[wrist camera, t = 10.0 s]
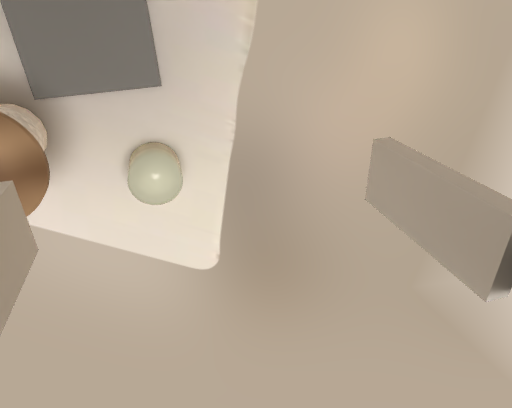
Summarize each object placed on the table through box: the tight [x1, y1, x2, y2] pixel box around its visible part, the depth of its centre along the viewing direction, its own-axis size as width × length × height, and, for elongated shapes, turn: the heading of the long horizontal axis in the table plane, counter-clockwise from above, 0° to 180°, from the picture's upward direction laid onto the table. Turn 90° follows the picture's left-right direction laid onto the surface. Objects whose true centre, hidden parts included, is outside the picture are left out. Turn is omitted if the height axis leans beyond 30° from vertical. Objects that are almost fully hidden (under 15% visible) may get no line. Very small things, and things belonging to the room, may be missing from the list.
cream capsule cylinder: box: [128, 142, 183, 205], centre depth 43 cm, size 6×6×5 cm
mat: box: [0, 0, 161, 100], centre depth 36 cm, size 13×13×1 cm
